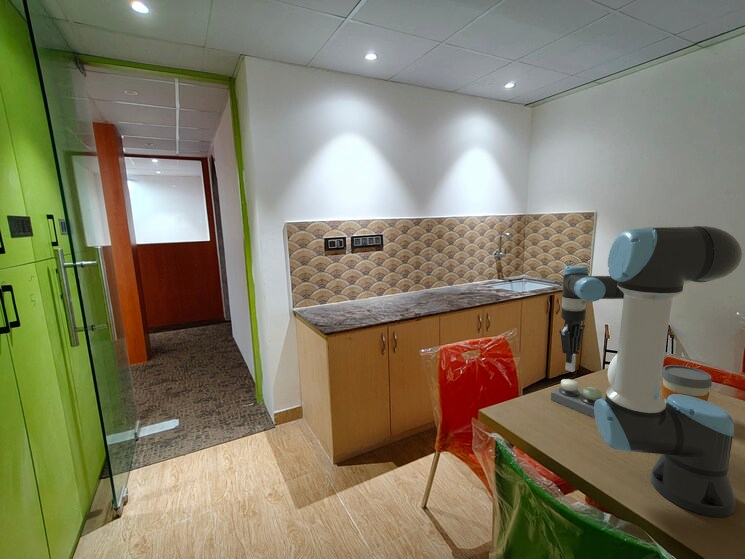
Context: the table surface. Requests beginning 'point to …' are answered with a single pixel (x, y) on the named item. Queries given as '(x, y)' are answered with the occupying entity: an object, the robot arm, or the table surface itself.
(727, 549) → the table surface
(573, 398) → the button panel
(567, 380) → the cream button
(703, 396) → the reusable coffee cup
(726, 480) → the robot arm
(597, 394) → the sage button
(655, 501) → the table surface
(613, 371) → the sauce bottle
